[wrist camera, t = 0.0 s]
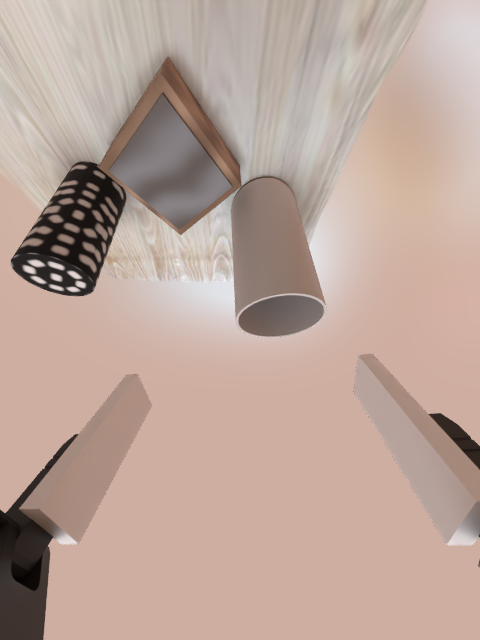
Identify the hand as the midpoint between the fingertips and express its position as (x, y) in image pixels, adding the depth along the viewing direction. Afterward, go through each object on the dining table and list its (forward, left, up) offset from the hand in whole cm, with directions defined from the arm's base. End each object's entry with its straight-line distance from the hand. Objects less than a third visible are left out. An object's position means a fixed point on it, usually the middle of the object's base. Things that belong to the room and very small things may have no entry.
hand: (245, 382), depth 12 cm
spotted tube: (-8, -23, -36) cm, 44 cm away
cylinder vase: (+14, -3, -36) cm, 39 cm away
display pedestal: (-2, -9, -36) cm, 37 cm away
